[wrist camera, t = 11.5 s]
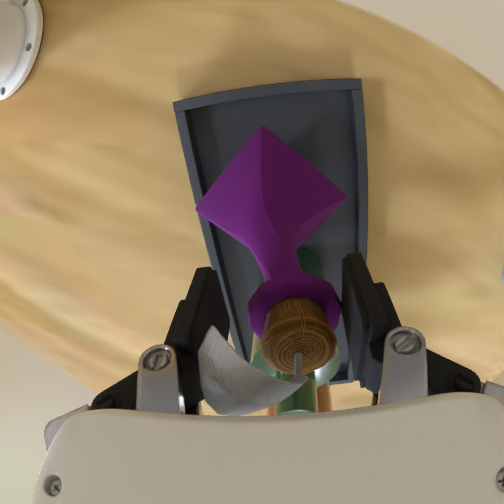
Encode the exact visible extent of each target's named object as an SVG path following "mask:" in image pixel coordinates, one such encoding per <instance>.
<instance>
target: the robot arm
mask: <svg viewBox="0 0 504 504" xmlns="http://www.w3.org/2000/svg"><path fill="white" fill-rule="evenodd" d="M42 31H43V14H42V9H41V6H40V3H39V1H38V0H0V100H3V99H6V98H7V97H9V96H11V95H12V94H13V93H14V92H15V91H16V90H18V88H19V87H20V86H21V85H22V83H23V82H24V81H25V79H26V77H27V76H28V74H29V73H30V71H31V68H32V66H33V64H34V62H35V59H36V56H37V54H38V51H39V47H40V43H41V39H42ZM341 303H342V308H341V314H342V320H343V324H344V329H345V334H346V339H347V344H348V349H349V354H350V359H351V364H352V370H353V375H354V380H355V381H357V380H359V381H360V386H361V388H364V387H366V389H368V390H370V391H371V392H373V393H372V401H371V406H368V407H361V408H354V409H346V410H338V411H329V412H318V413H306V414H292V415H272V416H207V415H203V412H202V405H201V401H202V400H203V399H205V398H204V395H203V391H202V388H201V382H200V371H199V360H198V351H199V349H200V346H201V344H202V342H203V340H204V337H205V335H206V333H207V332H208V330H209V328H210V327H211V325H212V326H214V327H216V328H217V330H218V331H219V333H220V334H221V335H222V336H223V337H224V338H225V340H226V341H227V340H228V334H229V328H230V318H229V314H228V311H227V307H226V303H225V300H224V296H223V292H222V289H221V285H220V281H219V277H218V273H217V271H216V270H212V268H211V267H202V268H197V269H196V272H195V275H194V277H193V280H192V283H191V285H190V288H189V291H188V294H187V296H186V299H185V300H181V301H180V302H179V304H178V307H177V310H176V312H175V315H174V318H173V320H172V323H171V326H170V329H169V331H168V334H167V337H166V340H165V342H164V344H160V345H155V346H152V347H150V348H148V349H147V350H146V351H144V352H143V353H142V355H141V357H140V359H139V363H138V370H137V371H136V372H134V373H132V374H131V375H129V376H127V377H126V378H124V379H123V380H121V381H119V382H118V383H116V384H114V385H113V386H111V387H109V388H108V389H106V390H104V391H103V392H101V393H100V394H98V395H97V396H96V397H95V399H94V400H93V402H92V405H91V406H88V404H86V405H84V406H82V407H80V408H78V409H75V410H74V411H71V412H69V413H66V414H64V415H62V416H60V417H57V418H55V419H53V420H51V421H50V422H49V423H48V424H47V425H46V427H45V430H44V437H45V442H46V448H47V454H46V456H45V459H44V461H43V464H42V466H41V469H40V472H39V475H38V478H37V481H36V484H35V487H34V491H33V494H32V497H31V500H30V504H504V386H501V385H498V384H495V383H493V382H490V381H486V382H485V383H483V382H481V381H480V379H479V377H478V376H477V374H476V373H475V372H473V371H472V370H470V369H468V368H466V367H464V366H462V365H460V364H457V363H455V362H453V361H451V360H449V359H447V358H445V357H443V356H441V355H439V354H436V353H434V352H432V351H430V350H428V349H426V342H425V338H424V336H423V335H422V333H420V332H419V331H418V330H416V329H414V328H412V327H406V326H403V327H402V326H401V323H400V321H399V318H398V316H397V313H396V311H395V308H394V306H393V303H392V301H391V298H390V296H389V294H388V291H387V289H386V287H385V285H384V283H383V282H380V283H373V280H372V278H371V275H370V273H369V270H368V268H367V265H366V263H365V261H364V258H363V256H362V254H361V252H358V253H349V254H347V257H345V258H342V299H341Z"/></svg>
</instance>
